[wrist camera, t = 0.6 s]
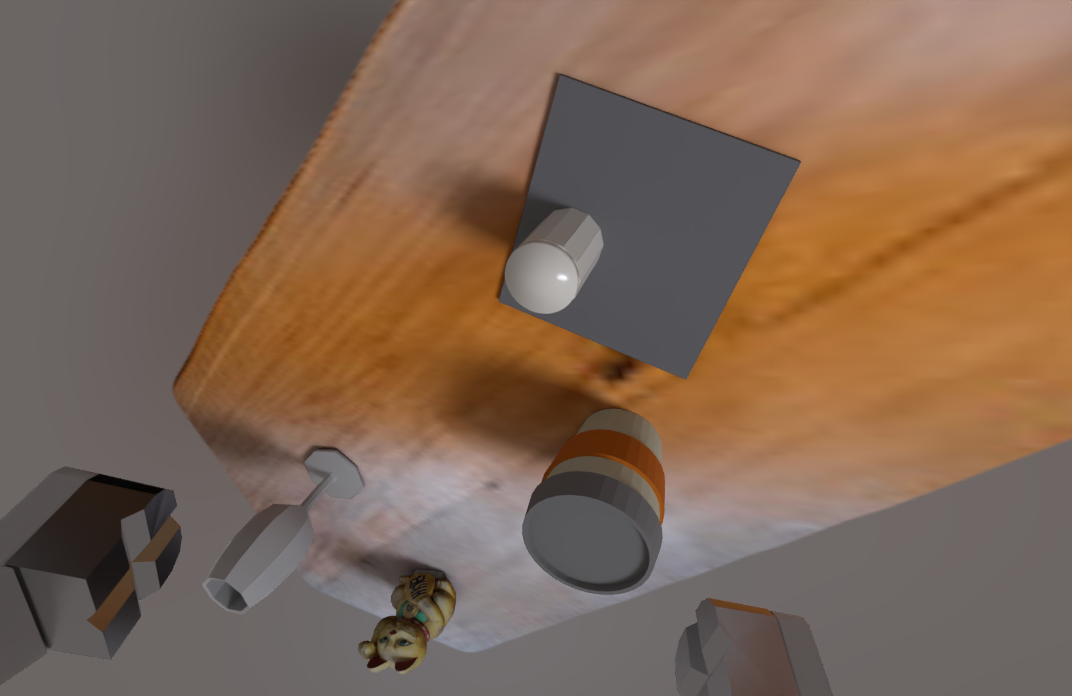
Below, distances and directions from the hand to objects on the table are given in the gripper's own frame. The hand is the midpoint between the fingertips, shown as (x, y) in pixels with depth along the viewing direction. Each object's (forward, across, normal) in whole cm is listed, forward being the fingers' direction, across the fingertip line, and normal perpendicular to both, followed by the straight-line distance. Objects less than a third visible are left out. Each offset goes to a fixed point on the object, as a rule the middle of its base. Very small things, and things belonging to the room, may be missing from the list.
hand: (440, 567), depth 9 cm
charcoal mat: (+46, -9, +11) cm, 48 cm away
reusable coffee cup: (+45, -14, +34) cm, 58 cm away
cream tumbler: (+46, -4, +13) cm, 48 cm away
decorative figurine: (+50, +2, +72) cm, 87 cm away
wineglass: (+54, +19, +56) cm, 80 cm away
